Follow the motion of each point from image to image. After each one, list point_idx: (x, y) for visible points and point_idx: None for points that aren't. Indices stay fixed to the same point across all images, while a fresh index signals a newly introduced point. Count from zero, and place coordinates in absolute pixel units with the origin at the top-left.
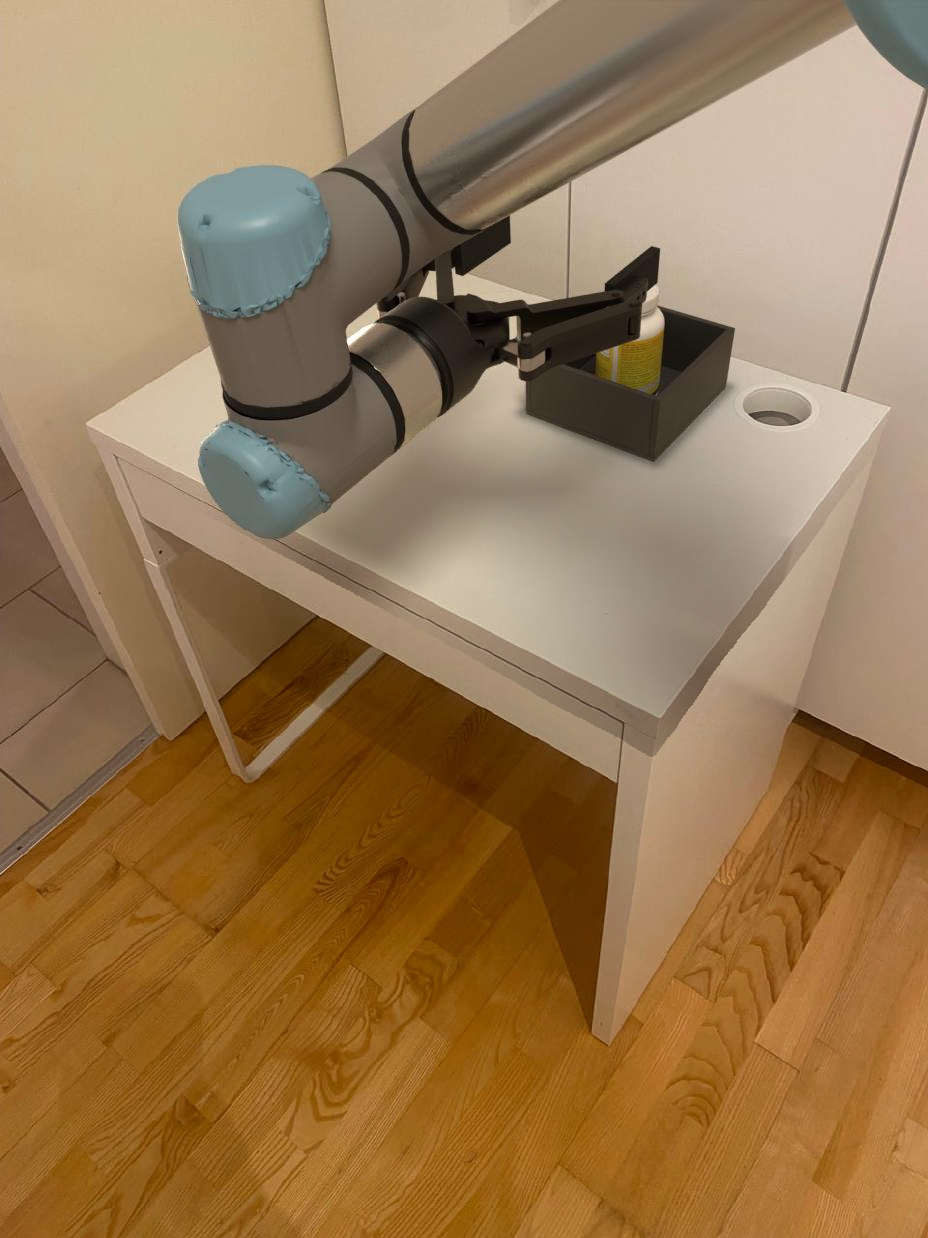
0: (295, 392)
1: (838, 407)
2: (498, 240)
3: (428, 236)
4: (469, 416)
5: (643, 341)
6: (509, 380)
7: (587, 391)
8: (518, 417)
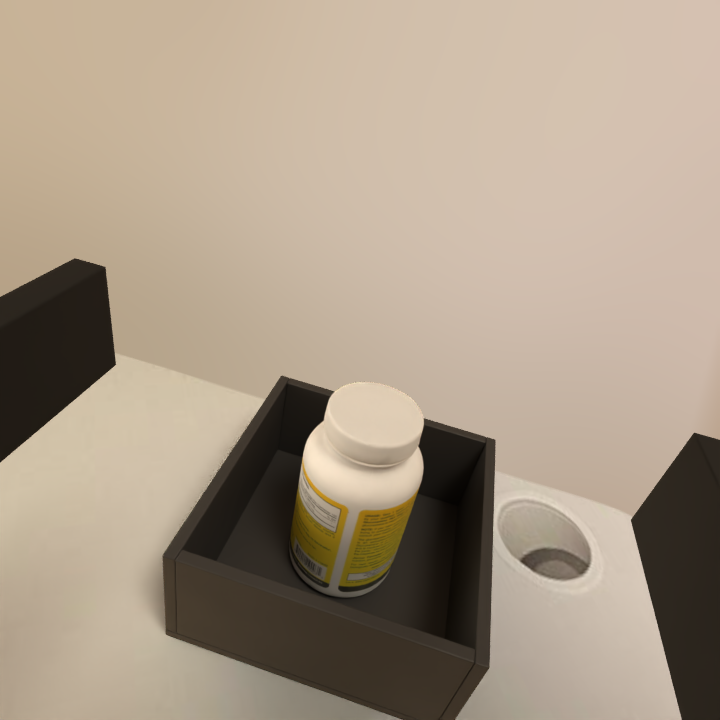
0: None
1: (609, 526)
2: (64, 372)
3: None
4: (34, 672)
5: (402, 504)
6: (125, 541)
7: (310, 628)
8: (150, 650)
